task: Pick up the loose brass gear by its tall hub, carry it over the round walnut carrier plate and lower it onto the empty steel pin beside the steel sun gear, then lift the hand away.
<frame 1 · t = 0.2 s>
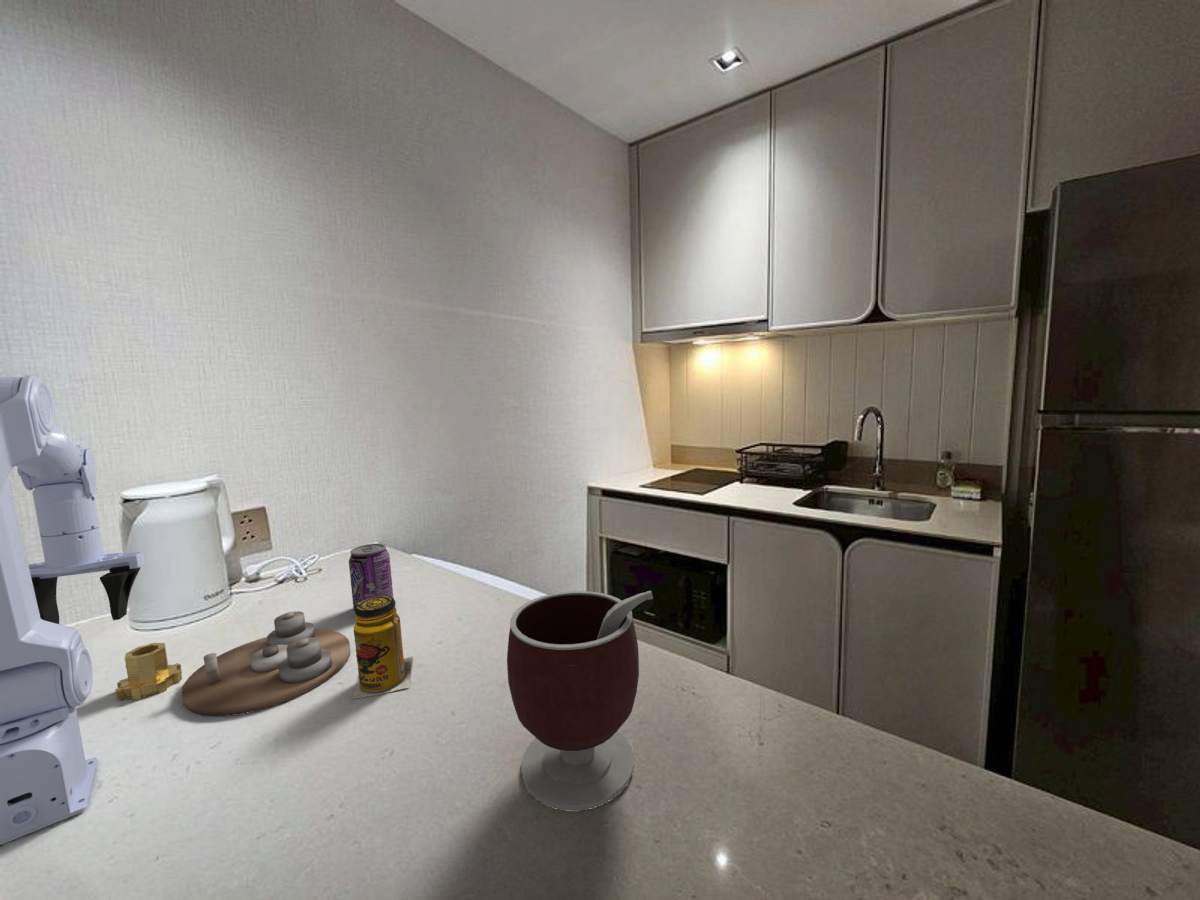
hand: (86, 622, 71), 10 cm above the countertop, tool pointing down, fingers open, 7 cm apart
mate gourd: (585, 765, 54), on the countertop
beverage can: (374, 609, 95), on the countertop
brass gear: (150, 685, 71), on the countertop
condiment: (384, 679, 71), on the countertop
carrier: (273, 670, 74), on the countertop
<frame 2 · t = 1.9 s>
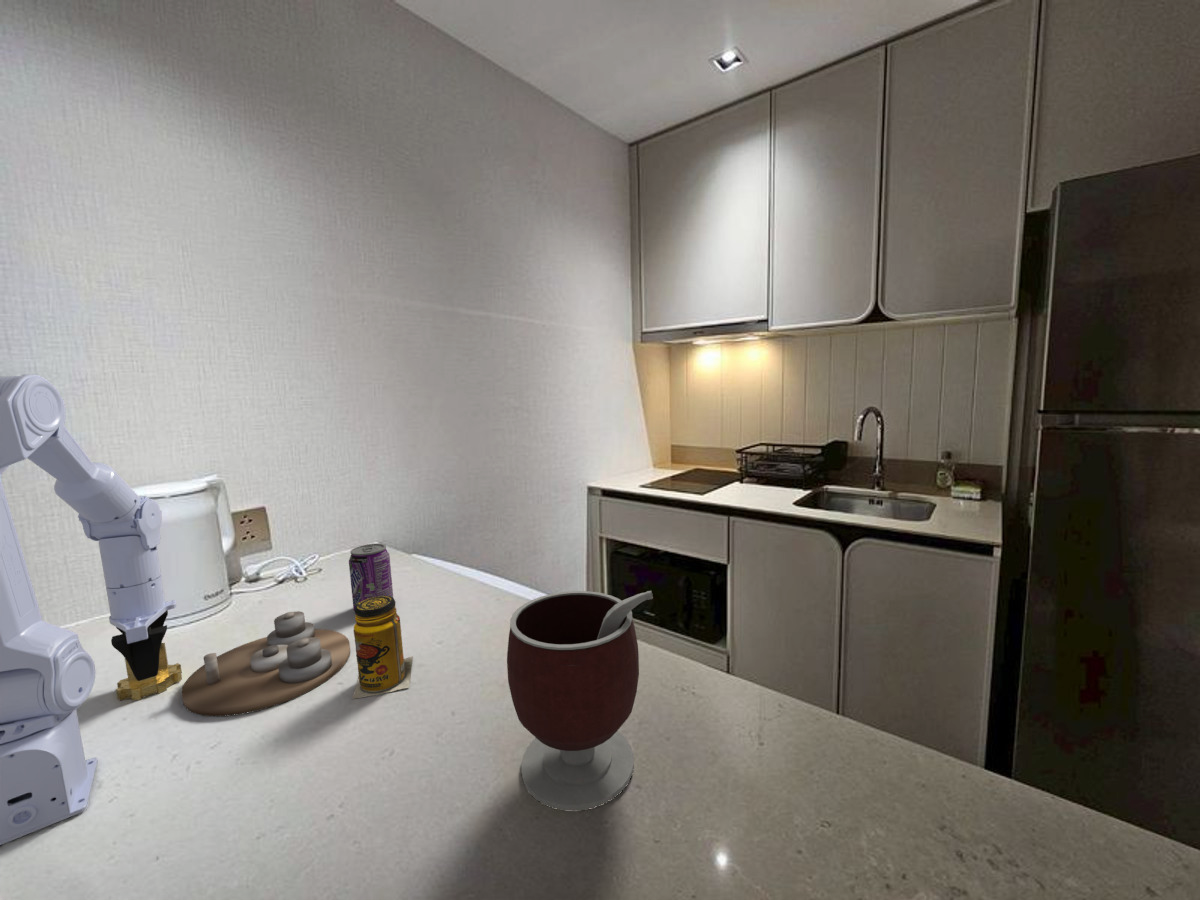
hand: (148, 670, 71), 2 cm above the countertop, tool pointing down, fingers closed on brass gear, 4 cm apart
brass gear: (150, 685, 71), on the countertop, touching gripper
everything else where it was.
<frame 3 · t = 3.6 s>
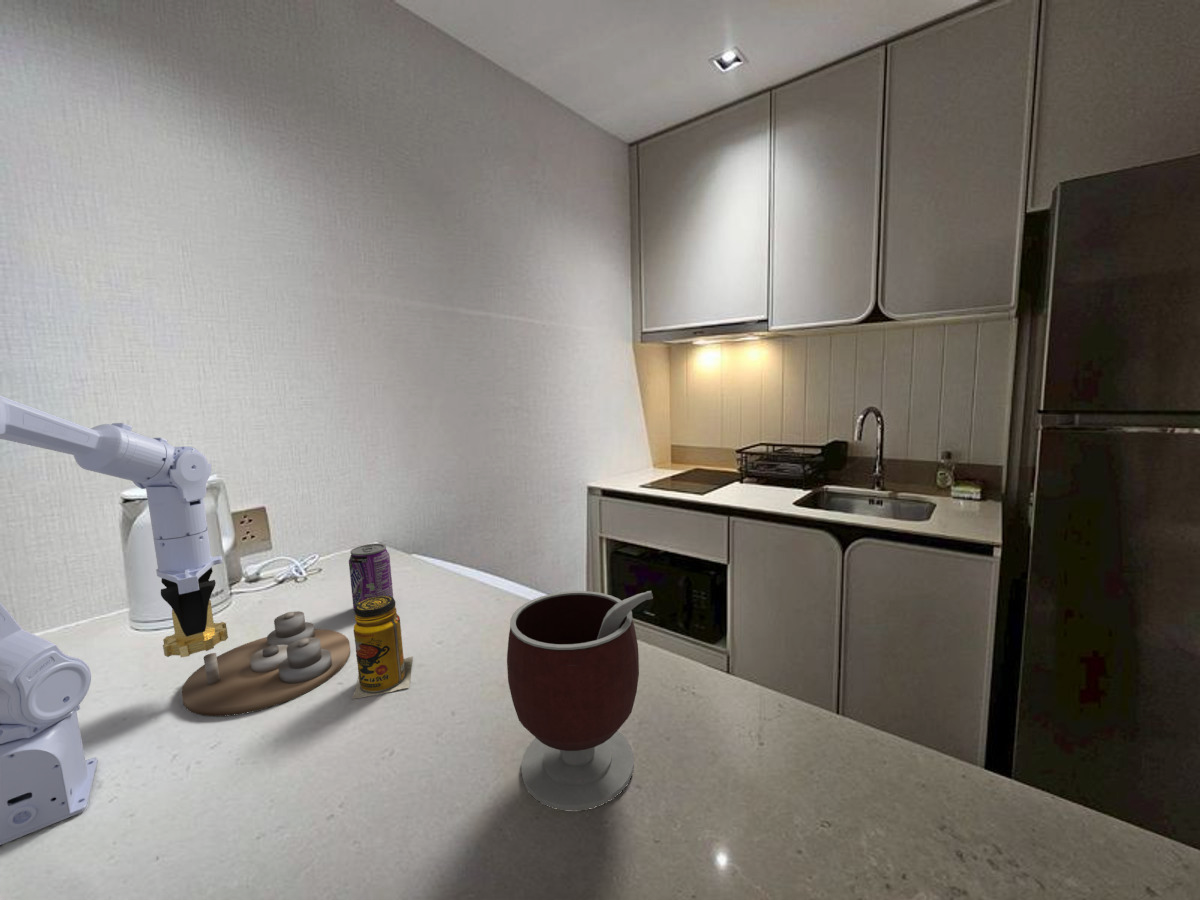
hand: (194, 627, 69), 9 cm above the countertop, tool pointing down, fingers closed on brass gear, 4 cm apart
brass gear: (197, 643, 69), point 7 cm above the countertop, touching gripper
everything else where it was.
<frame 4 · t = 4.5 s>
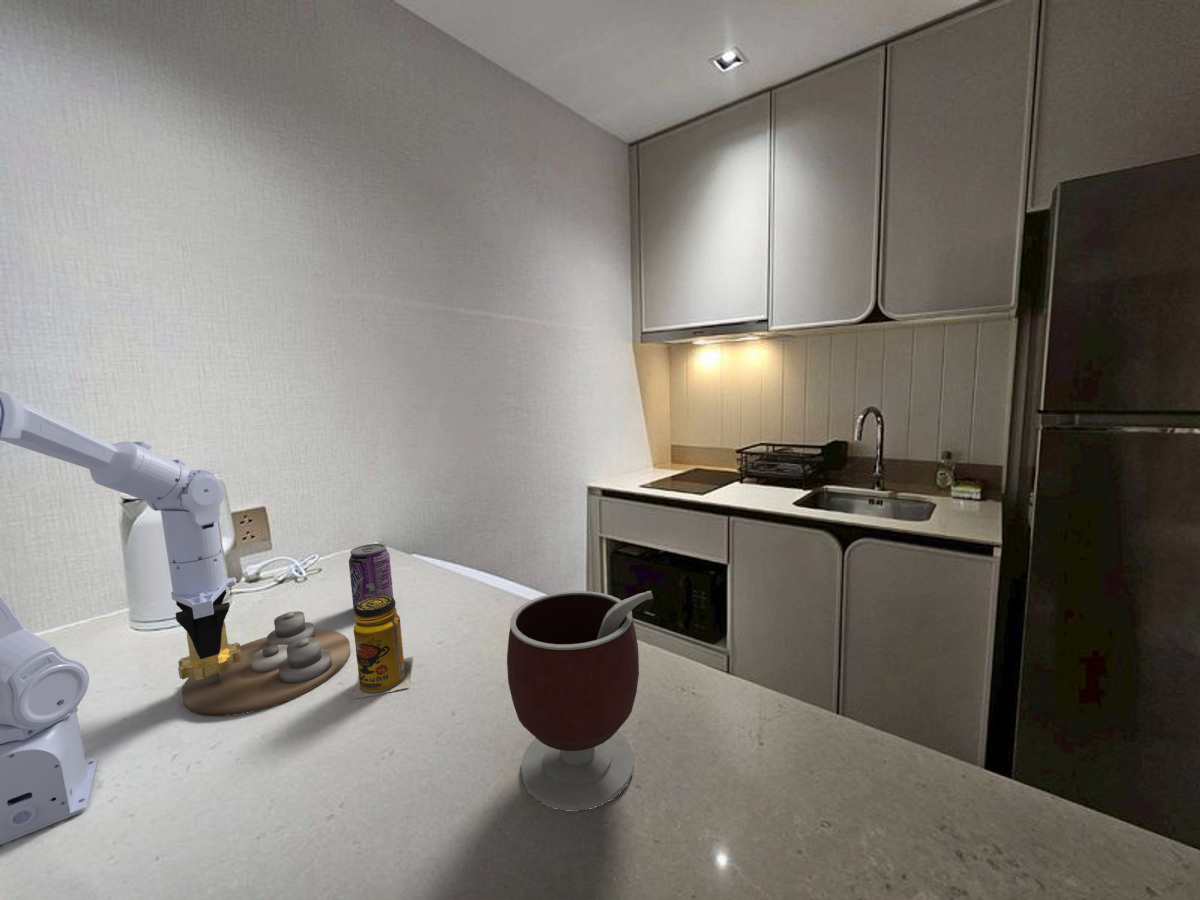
hand: (209, 648, 69), 6 cm above the countertop, tool pointing down, fingers closed on brass gear, 4 cm apart
brass gear: (211, 665, 69), point 4 cm above the countertop, touching gripper
everything else where it was.
when the fingers open (5 cm above the countertop, at t = 5.3 s): brass gear drops 1 cm, resting on carrier.
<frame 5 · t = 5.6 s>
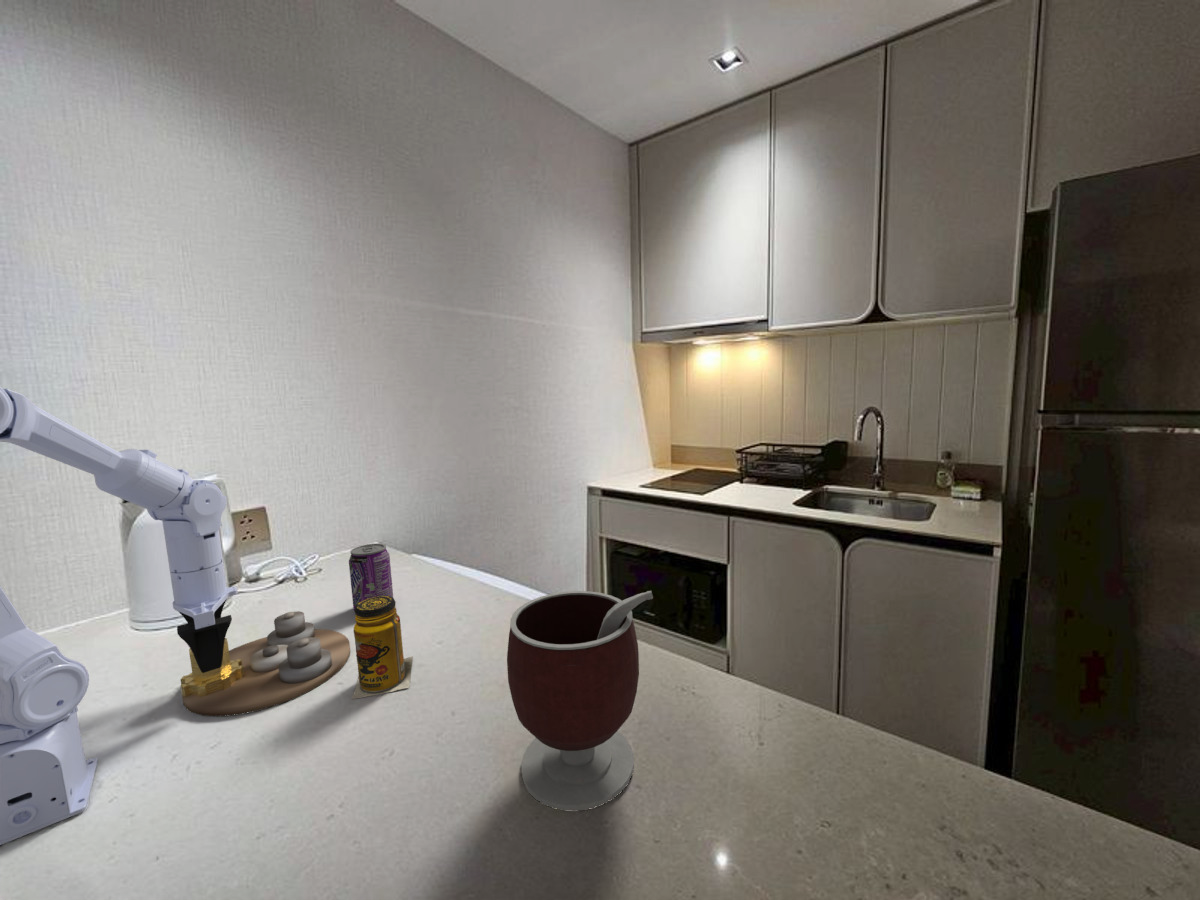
hand: (210, 658, 69), 5 cm above the countertop, tool pointing down, fingers open, 7 cm apart
brass gear: (213, 682, 70), point 1 cm above the countertop, touching carrier
everything else where it was.
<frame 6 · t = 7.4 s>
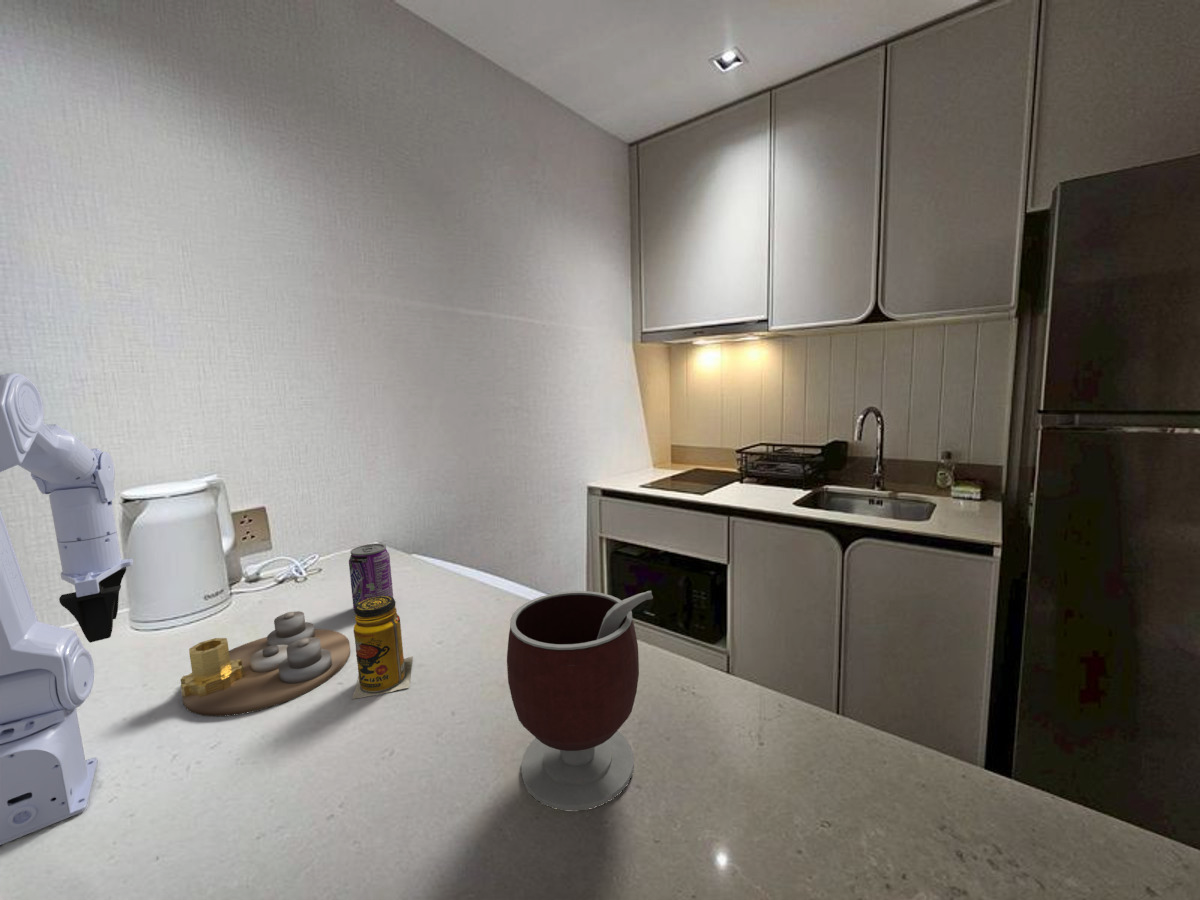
hand: (103, 629, 69), 9 cm above the countertop, tool pointing down, fingers open, 7 cm apart
nothing on the countertop moved.
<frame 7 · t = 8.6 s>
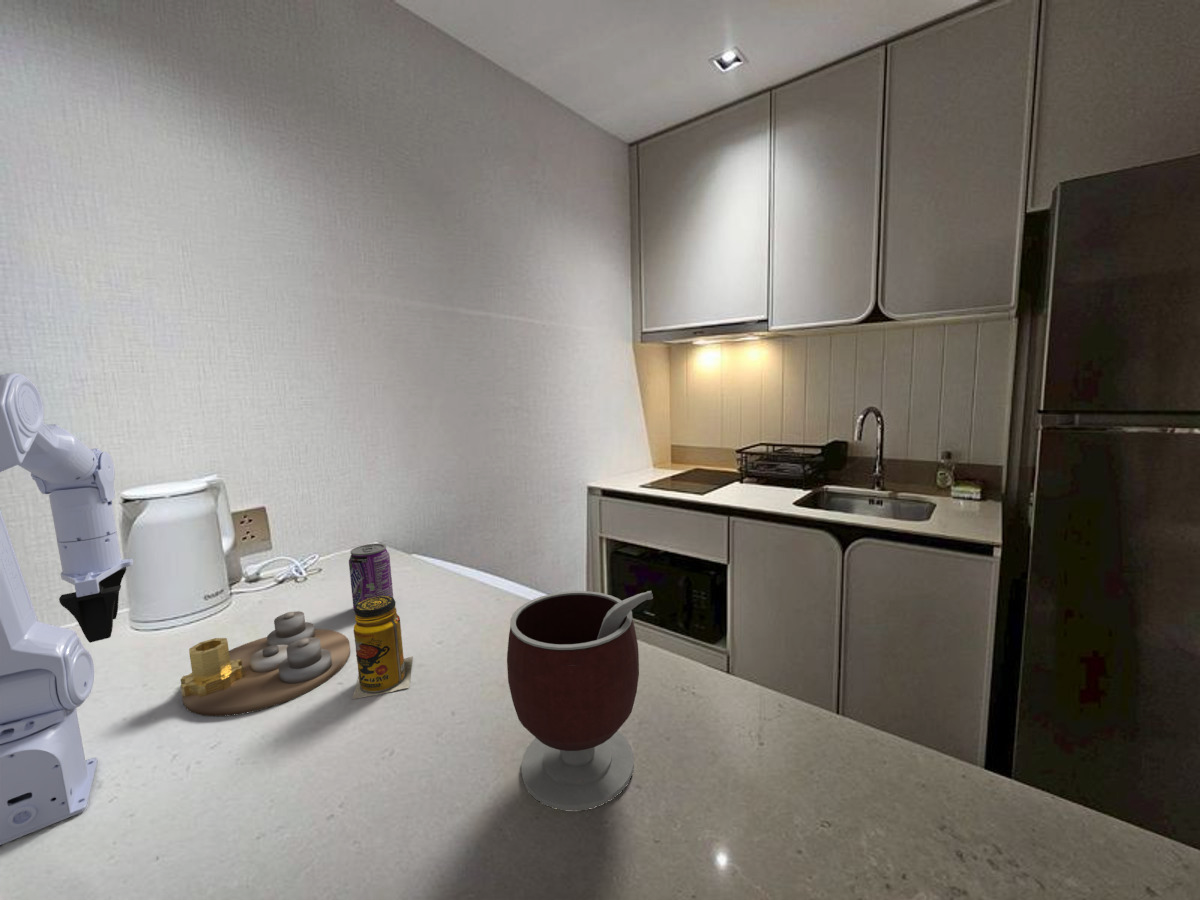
hand: (103, 629, 69), 9 cm above the countertop, tool pointing down, fingers open, 7 cm apart
nothing on the countertop moved.
at the end: brass gear 0.0 cm from the target spot on the carrier, point 1.2 cm above the carrier's base; brass gear tilted 0°; the gripper is holding nothing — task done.
